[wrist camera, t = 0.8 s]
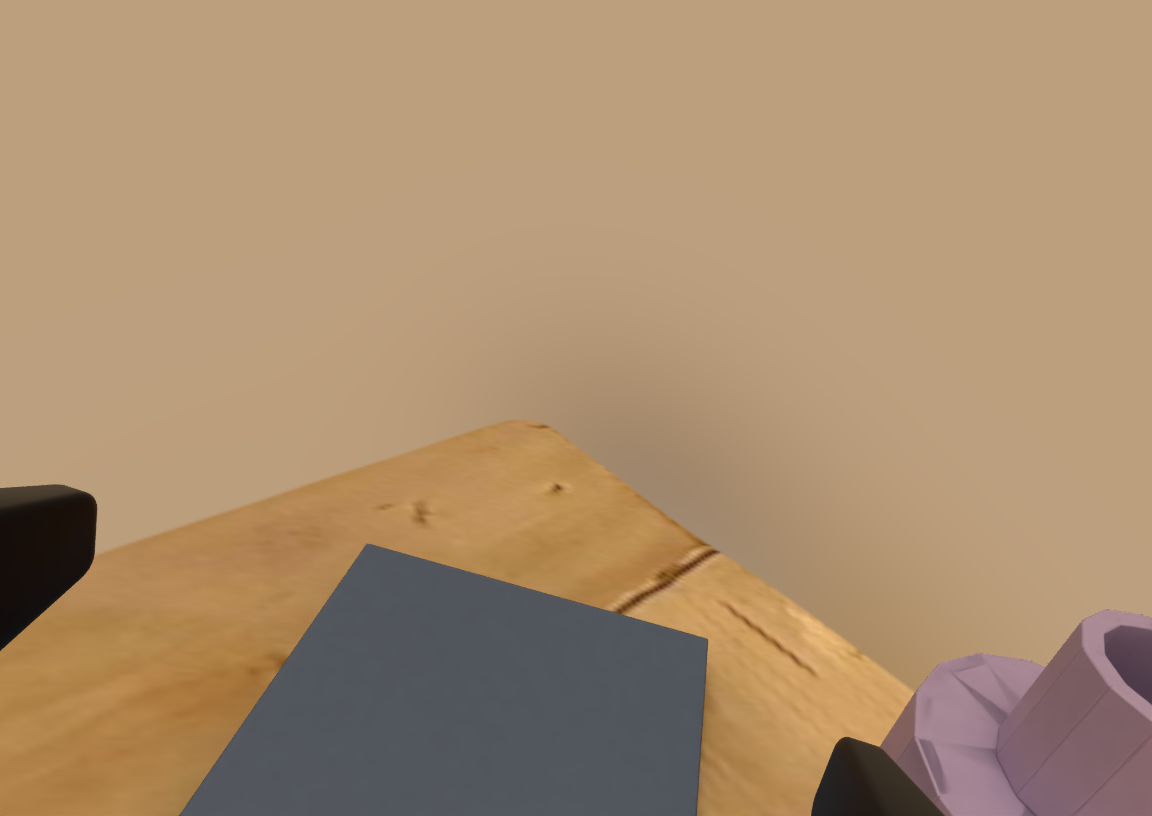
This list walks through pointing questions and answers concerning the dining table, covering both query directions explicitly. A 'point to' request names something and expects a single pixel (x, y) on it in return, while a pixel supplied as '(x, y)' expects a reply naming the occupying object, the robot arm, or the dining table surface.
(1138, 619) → the vase
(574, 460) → the dining table surface
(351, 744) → the grey stepped slab
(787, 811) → the dining table surface
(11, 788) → the dining table surface
